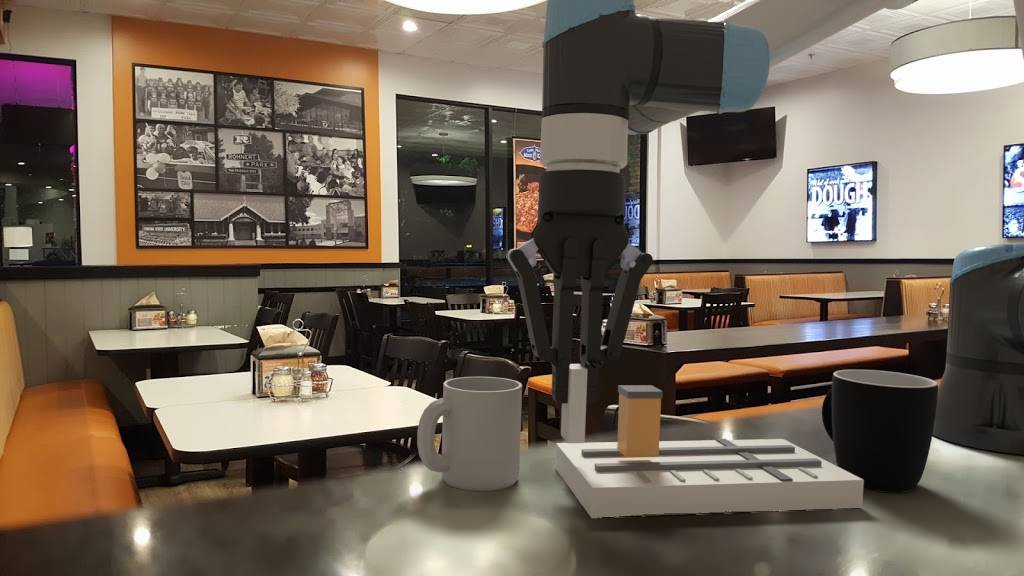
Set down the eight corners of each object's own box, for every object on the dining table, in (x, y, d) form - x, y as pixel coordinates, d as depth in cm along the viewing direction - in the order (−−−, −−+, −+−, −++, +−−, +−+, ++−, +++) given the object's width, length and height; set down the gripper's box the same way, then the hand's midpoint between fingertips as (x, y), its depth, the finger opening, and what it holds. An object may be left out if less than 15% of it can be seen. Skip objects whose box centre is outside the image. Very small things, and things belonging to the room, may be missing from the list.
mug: (954, 494, 67) (961, 385, 67) (876, 502, 65) (883, 388, 64) (856, 456, 79) (861, 363, 78) (786, 462, 76) (791, 365, 75)
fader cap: (649, 448, 68) (651, 385, 67) (660, 457, 65) (662, 391, 65) (615, 449, 67) (618, 385, 67) (625, 458, 64) (628, 391, 64)
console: (781, 462, 76) (783, 434, 75) (862, 508, 63) (864, 474, 63) (555, 468, 72) (556, 438, 71) (591, 518, 59) (592, 481, 59)
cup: (533, 485, 67) (536, 388, 66) (433, 502, 61) (435, 397, 61) (495, 463, 73) (497, 374, 72) (401, 477, 68) (402, 381, 67)
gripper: (639, 178, 68) (629, 427, 70) (501, 171, 66) (493, 429, 67) (670, 170, 61) (657, 450, 62) (516, 162, 59) (506, 452, 60)
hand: (572, 438), depth 65 cm, fingers closed
